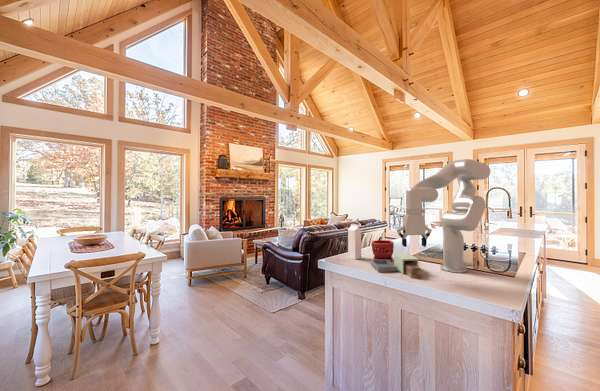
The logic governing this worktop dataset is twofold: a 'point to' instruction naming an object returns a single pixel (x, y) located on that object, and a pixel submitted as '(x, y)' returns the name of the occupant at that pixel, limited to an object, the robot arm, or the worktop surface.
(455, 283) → the worktop surface
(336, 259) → the worktop surface
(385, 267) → the tray
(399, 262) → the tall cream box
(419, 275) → the block
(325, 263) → the worktop surface
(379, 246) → the plant pot
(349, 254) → the milk
